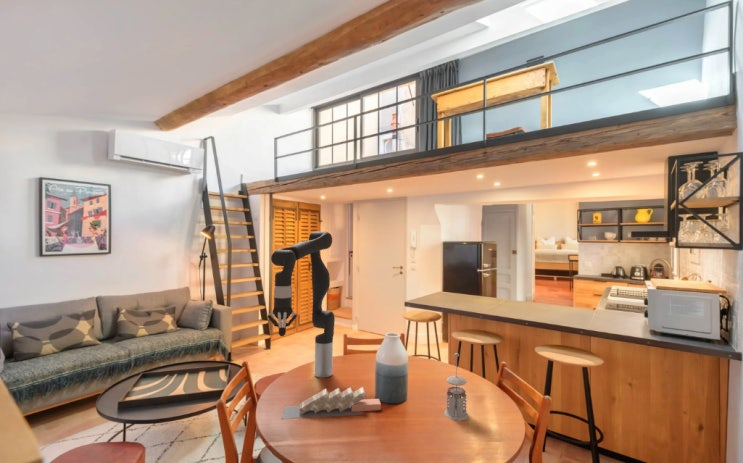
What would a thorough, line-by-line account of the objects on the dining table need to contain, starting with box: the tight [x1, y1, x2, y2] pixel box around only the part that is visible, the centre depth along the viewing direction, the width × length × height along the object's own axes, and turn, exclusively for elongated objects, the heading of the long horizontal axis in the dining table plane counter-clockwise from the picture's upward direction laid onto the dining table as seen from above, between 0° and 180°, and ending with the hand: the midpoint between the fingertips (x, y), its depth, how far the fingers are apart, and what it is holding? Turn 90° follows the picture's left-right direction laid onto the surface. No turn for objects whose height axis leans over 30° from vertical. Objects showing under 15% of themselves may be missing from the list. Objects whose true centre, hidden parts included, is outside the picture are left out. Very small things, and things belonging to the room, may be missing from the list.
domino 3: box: [325, 386, 354, 412], centre depth 142 cm, size 2×5×12 cm
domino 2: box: [313, 387, 342, 413], centre depth 141 cm, size 2×5×12 cm
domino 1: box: [299, 388, 330, 414], centre depth 140 cm, size 2×5×12 cm
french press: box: [443, 352, 469, 421], centre depth 140 cm, size 10×12×25 cm
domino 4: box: [338, 386, 367, 412], centre depth 143 cm, size 2×5×12 cm
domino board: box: [281, 405, 364, 420], centre depth 141 cm, size 10×32×1 cm, turn 98°
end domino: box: [351, 398, 382, 412], centre depth 143 cm, size 2×5×12 cm
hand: (282, 335), depth 149 cm, fingers closed
